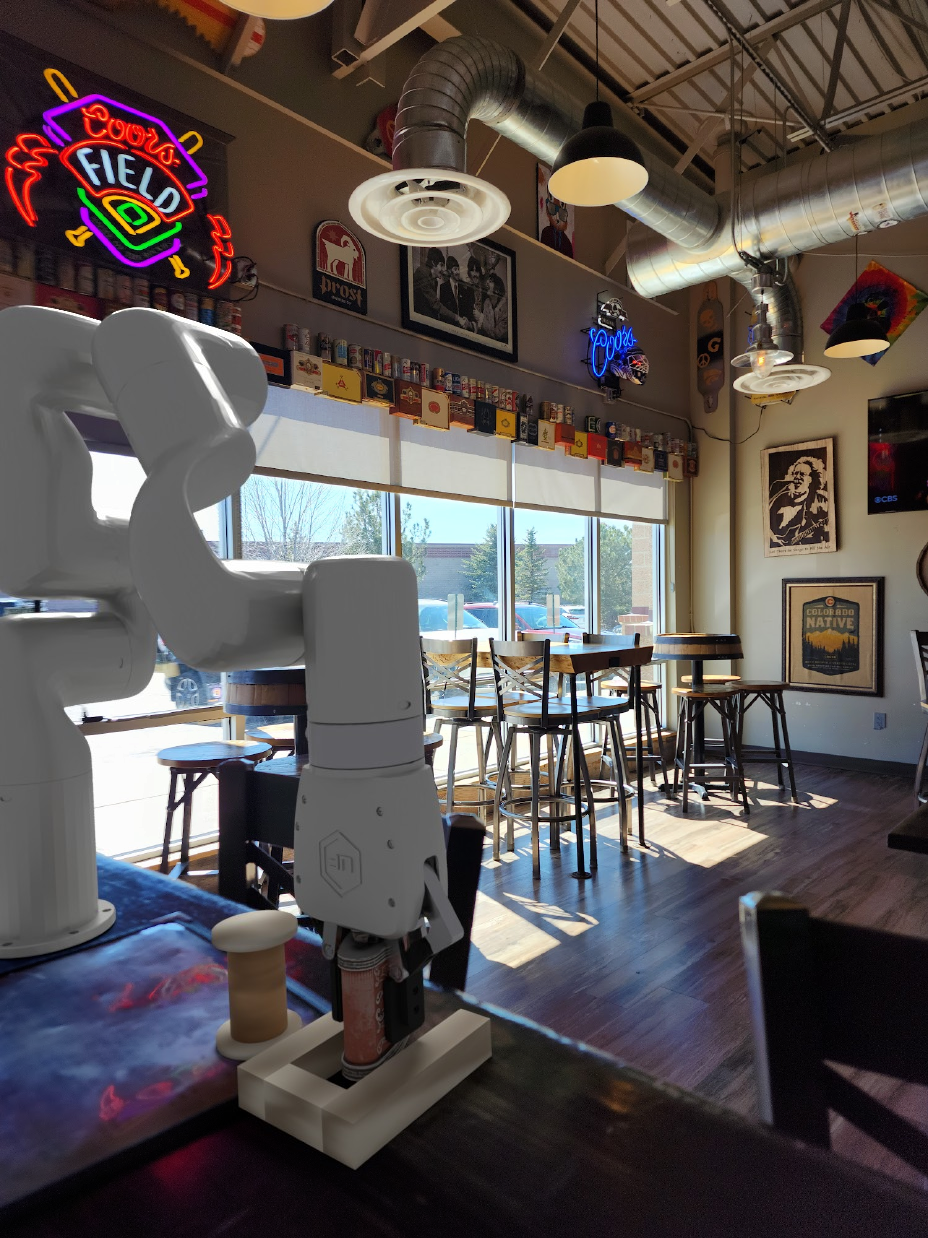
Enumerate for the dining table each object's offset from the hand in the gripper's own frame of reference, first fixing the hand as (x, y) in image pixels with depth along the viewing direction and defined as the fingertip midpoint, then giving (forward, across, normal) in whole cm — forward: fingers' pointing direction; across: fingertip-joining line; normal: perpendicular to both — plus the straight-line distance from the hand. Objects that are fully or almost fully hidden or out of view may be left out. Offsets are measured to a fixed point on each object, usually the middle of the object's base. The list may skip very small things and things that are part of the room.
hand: (378, 1020), depth 51 cm
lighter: (+2, 0, 0) cm, 2 cm away
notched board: (+3, 0, -1) cm, 4 cm away
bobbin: (+3, -10, -2) cm, 11 cm away
